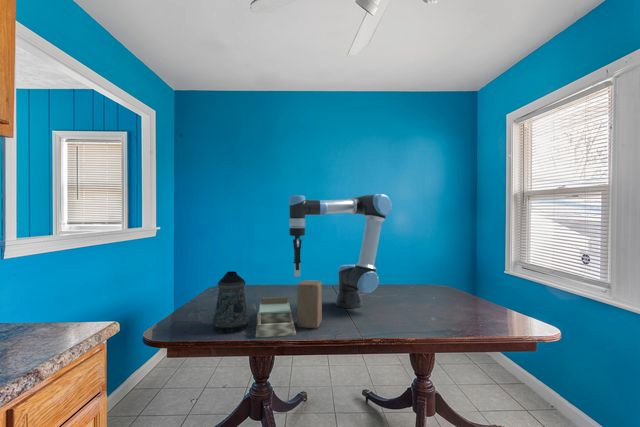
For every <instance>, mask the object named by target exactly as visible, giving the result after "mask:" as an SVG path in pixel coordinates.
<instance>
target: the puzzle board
mask: <svg viewBox="0 0 640 427" xmlns="http://www.w3.org/2000/svg"><path fill="white" fill-rule="evenodd" d="M259 308H260V306H259ZM256 315H257V316H256V327H255V338H269V337H270V338H274V337H288V336H290V337H292V336H297V331H296V326H295V323H294V319H293V315H292V312H291V313H272V314H259V311H257V314H256Z"/></svg>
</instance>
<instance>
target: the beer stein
mask: <svg viewBox="0 0 640 427" xmlns="http://www.w3.org/2000/svg"><path fill="white" fill-rule="evenodd" d="M245 286H246V280H245V279H244V278H242V277H241V276H240V275H239V274H238V273H237V271H234V270H233V271H232V270H231V271H227V272H226V273H225V274H224V275H223V277H222V278H220V280H219V281H218V282H217V287H218V294H217V300H216V301H217V302H216V305H215V306H216V307H215V311H214V315H213V319H212V321H211V324H212V330H213V332H215V333H217V334H224V335H228V334H236V333H241V332H244V331H246V330H247V329H248V328H249V325H250V321H251V318H250V316H249V313H248V310H247V309H248V308H247V302H246V293H245Z"/></svg>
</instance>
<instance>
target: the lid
mask: <svg viewBox="0 0 640 427" xmlns="http://www.w3.org/2000/svg"><path fill="white" fill-rule="evenodd" d="M259 307H260V308H259V310H258V312H259V314H272V313H291V314H292V310H291V306H290V302H288V296H273V297H271V296H270V297H261V303H259Z"/></svg>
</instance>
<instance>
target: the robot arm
mask: <svg viewBox="0 0 640 427" xmlns="http://www.w3.org/2000/svg"><path fill="white" fill-rule="evenodd" d="M288 204H289V205H288V206H289V208H288V209H289V216H288V217H289V220H288V221H287V222H288V224H289V227H290V228H289V230H288V231H289V232H288V233H289V236H291V237H294V239H292V243H293V244H292V245H293V247H292V248H293V256H294V257H293V266H294V267H293V269H294V270H293V271H294V273H293V277H295V278H298V277H301V263H302V260H301V250H302V241H303V240H302V239H301V237H305V235H306V228H305V227H306V216H325V215H327V214H328V215H329V214H344V213H346V214H347V213H349V214H351V215H364V218H365V227H364V231H363V237H362V242H361V248H360V253H359V258H358V262H357V263H356V264H343V265H339V267H338V291H337V292H338V293H337V294H336V298H335V304H334V305H335V306H336V307H339V308H344V309H357V308H360V307H361V306H362V305H363V304H362V298H361V295H360V292H361V293H365V294H369V293H372V292H374V291H375V290H376V289H377V288H378V286H379V281H380V279H379V278H380V277H379V275H378V274H377V268H376V266H375V262H376V258H377V257H376V256H377V253H378V246H379V240H380V235H381V229H382V223H383V222H385V221H386V217H387V215H389V214H391V212H392V210H393V203H392V201H391V200H390V198H389V196H388V195H386V194H383V193H376V194H365V195H360V196H357V197H350V198H348V199H328V200H327V199H325V200H324V199H322V200H321V199H306V196H305V195H301V194H300V195H299V194H297V195H296V194H295V195H291V196H289V201H288Z"/></svg>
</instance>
